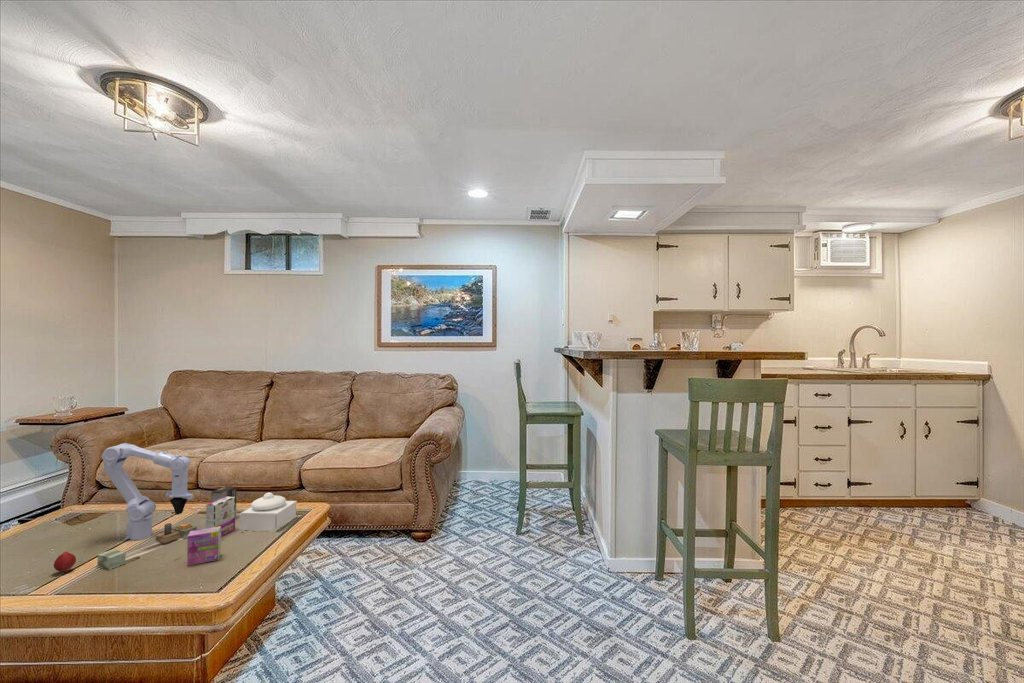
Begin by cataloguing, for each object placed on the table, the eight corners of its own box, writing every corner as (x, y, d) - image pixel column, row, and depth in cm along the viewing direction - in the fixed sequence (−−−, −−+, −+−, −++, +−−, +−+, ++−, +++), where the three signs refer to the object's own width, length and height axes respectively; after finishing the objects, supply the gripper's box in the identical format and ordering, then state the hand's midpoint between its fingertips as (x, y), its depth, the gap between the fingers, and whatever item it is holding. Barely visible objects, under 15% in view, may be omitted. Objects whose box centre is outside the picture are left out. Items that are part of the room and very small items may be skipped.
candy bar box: (226, 531, 200) (227, 495, 201) (235, 532, 200) (236, 496, 200) (204, 541, 190) (205, 504, 190) (214, 542, 189) (215, 504, 189)
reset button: (178, 535, 192) (178, 525, 193) (186, 532, 195) (186, 522, 196) (183, 536, 191) (183, 526, 191) (190, 533, 194) (191, 523, 194)
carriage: (155, 540, 185) (155, 526, 185) (170, 535, 191) (171, 521, 191) (164, 543, 183) (164, 527, 183) (179, 537, 189) (180, 522, 189)
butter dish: (262, 517, 218) (262, 486, 218) (296, 518, 217) (297, 486, 218) (239, 532, 200) (239, 497, 201) (276, 532, 200) (277, 498, 200)
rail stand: (97, 566, 167) (97, 554, 167) (184, 534, 197) (184, 524, 197) (109, 569, 164) (110, 558, 164) (196, 536, 194) (196, 526, 194)
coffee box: (225, 517, 217) (225, 485, 218) (236, 518, 216) (237, 486, 217) (210, 524, 208) (210, 491, 209) (222, 525, 207) (222, 491, 208)
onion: (55, 577, 159) (56, 555, 159) (51, 573, 162) (52, 552, 162) (77, 570, 164) (78, 549, 164) (73, 566, 167) (73, 546, 167)
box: (186, 566, 167) (187, 535, 168) (189, 560, 172) (190, 530, 173) (218, 560, 172) (219, 530, 172) (220, 554, 177) (221, 525, 177)
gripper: (158, 484, 195) (158, 515, 194) (182, 487, 190) (181, 518, 190) (175, 480, 201) (174, 509, 201) (198, 483, 197) (197, 513, 197)
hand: (178, 513), depth 196 cm, fingers closed
